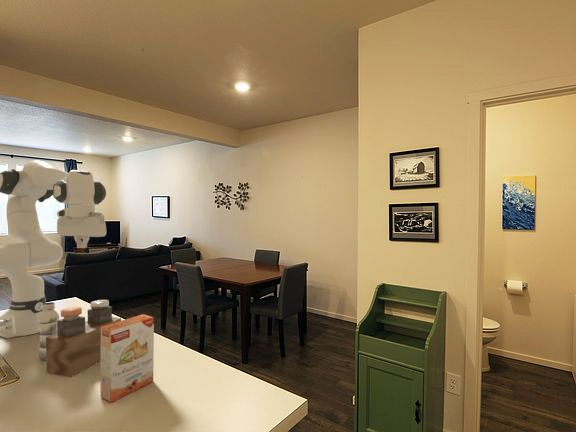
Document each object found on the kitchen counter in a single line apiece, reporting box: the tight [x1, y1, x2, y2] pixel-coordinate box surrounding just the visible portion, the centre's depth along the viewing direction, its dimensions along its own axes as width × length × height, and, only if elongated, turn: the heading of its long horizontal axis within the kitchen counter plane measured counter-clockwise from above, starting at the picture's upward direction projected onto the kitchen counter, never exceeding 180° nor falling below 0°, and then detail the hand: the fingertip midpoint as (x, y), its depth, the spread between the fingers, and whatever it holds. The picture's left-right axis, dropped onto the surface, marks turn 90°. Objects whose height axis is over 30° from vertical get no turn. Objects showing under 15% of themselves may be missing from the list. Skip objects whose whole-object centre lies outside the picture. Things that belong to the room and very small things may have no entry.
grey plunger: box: [89, 299, 110, 310], centre depth 124 cm, size 6×6×6 cm
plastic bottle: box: [37, 301, 60, 361], centre depth 120 cm, size 6×7×20 cm
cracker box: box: [100, 313, 155, 403], centre depth 100 cm, size 14×6×21 cm, turn 148°
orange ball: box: [60, 306, 83, 321], centre depth 112 cm, size 6×6×6 cm
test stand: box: [46, 305, 122, 378], centre depth 118 cm, size 10×22×17 cm, turn 165°
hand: (82, 247), depth 128 cm, fingers closed
